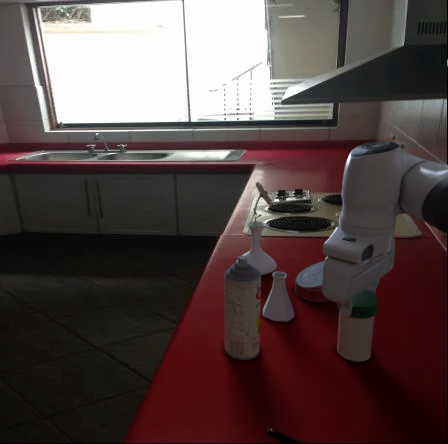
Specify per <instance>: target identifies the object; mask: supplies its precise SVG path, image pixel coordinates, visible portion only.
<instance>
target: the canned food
mask: <svg viewBox="0 0 448 444" xmlns="http://www.w3.org/2000/svg"><path fill="white" fill-rule="evenodd" d="M323 266H324V261H319V262H316V263H314V264H311V265H310V266H308V267H305V268H304V269H302V270H301V271H300V272H299V273H298V275H297V276H296V277H295V285H294V293H295V295H297V297H299V298H301V299H303V300H306V301H309V302H315V303H327V302H331V301H330V300H328V299H326V298H325V297H324V295H323V293H322V277H323Z"/></svg>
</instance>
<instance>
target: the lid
mask: <svg viewBox="0 0 448 444" xmlns="http://www.w3.org/2000/svg"><path fill="white" fill-rule="evenodd" d="M379 302H380V299H379V297H378V296H377V295H376V294H375V295H374V294H373V293H371V292H368V291H365V290H363V291H361V292H360V293H358V294H357V295H356V296H354V297H353V300H352V301H351V303H352V305H353V306H354V310H353V311H354V313H353V314H352V315H350V316H352V317H357V318H369V317H373V316H375V317H376V315H377V314H378V311H379ZM336 305H337V309H338V311H339V310H340V307H341V305H340V304H339V303H336Z"/></svg>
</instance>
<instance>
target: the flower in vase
mask: <svg viewBox="0 0 448 444" xmlns="http://www.w3.org/2000/svg"><path fill="white" fill-rule="evenodd" d="M255 187H256V189H257V191H258V193H259V196H258V198H257V200H256V202H255V205H254V207H252V210H253V218H252V219H253V220H254V221H250V222H247V224H246V225H247V227H248V229H249V231H250V234H251V248H250V249H249V250H248V251H247V252H245V253H243V254H242V255H241V256H247V261H248V262H249V263H251V265H253V266H254V267H255V268H256V269H258V270H259V271H260V276H263V275H269V274H271V273H274V272H275V270H276V269H277V267H278V265H277V262H276V260H275V259H274V258H273V257H272V256H270V255H268V254H267V253H266V252H265V251H264V250H262V247H261V246H262V245H261V238H262V234H263V230H264V228H265V227H266V225H267V224H266V223H265V222H263V221H257V219H258V218H261V217H262V216H263V215H262V214H261V213H260V214H258V213H257V211H256V208H257V206H258V203H259V201H260V199H261V198H262V199H263V200H264V201H265V203H266V204H267V205H268V207H272V206H273V205H274V204H273V200H272V198H270V196H269V195H268V194H269V192H268V191H267V190H266V189H265V188H264V186H263V184H262V183H260V182H259V181H257V182H255ZM237 261H238V259H236V261H235V263H236V262H237Z"/></svg>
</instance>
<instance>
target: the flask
mask: <svg viewBox="0 0 448 444" xmlns="http://www.w3.org/2000/svg"><path fill="white" fill-rule="evenodd" d="M271 273H272V274H271V275H272V278H273V281H272V287H271V290H270V292H269V294H268V297H267V299H266V301H265V304H264V305H263V308H262V317H264V318H267V319H268V320H271V321H273V322H289V321H291V320H292V319H293V318H295V312H294V311H295V310H294V308H293V305H292V302H291V299H290V296H289V293H288V290H287V286H286V279H287V278H288V276H287V275H288V274H287V273H286V272H284V271H278V270H277V271H273V272H271Z"/></svg>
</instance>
